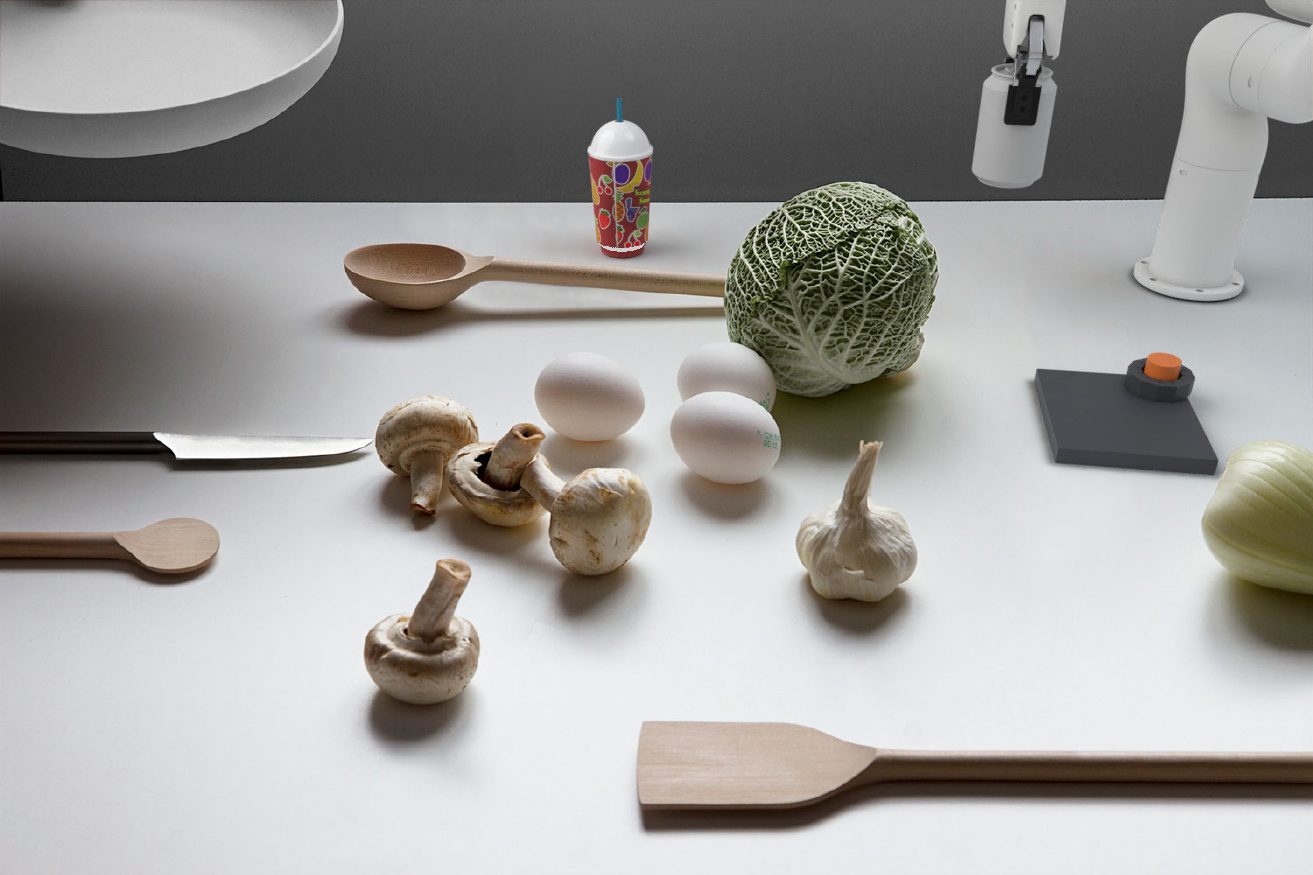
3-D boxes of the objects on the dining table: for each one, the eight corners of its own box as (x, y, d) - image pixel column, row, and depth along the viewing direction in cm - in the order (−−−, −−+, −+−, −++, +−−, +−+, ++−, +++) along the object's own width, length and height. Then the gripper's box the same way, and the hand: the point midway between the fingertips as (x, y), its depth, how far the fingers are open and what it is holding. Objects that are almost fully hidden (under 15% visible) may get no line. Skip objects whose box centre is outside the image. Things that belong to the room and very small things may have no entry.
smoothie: (653, 262, 147) (652, 107, 137) (589, 262, 147) (583, 108, 137) (654, 238, 154) (653, 90, 144) (593, 239, 154) (587, 90, 144)
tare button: (1140, 366, 115) (1144, 351, 114) (1173, 368, 114) (1177, 353, 114) (1147, 381, 112) (1151, 365, 111) (1181, 383, 112) (1185, 367, 111)
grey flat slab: (1033, 380, 119) (1038, 350, 117) (1178, 390, 117) (1186, 359, 115) (1055, 463, 105) (1061, 431, 103) (1220, 476, 103) (1230, 443, 101)
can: (1043, 193, 121) (1062, 78, 114) (970, 188, 122) (986, 75, 116) (1038, 171, 127) (1057, 61, 121) (970, 167, 128) (984, 58, 122)
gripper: (1096, -52, 104) (1062, 139, 113) (1071, -77, 118) (1043, 94, 127) (1011, -54, 105) (984, 135, 114) (997, -78, 120) (974, 92, 129)
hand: (1015, 112), depth 121 cm, fingers closed on can, 7 cm apart
